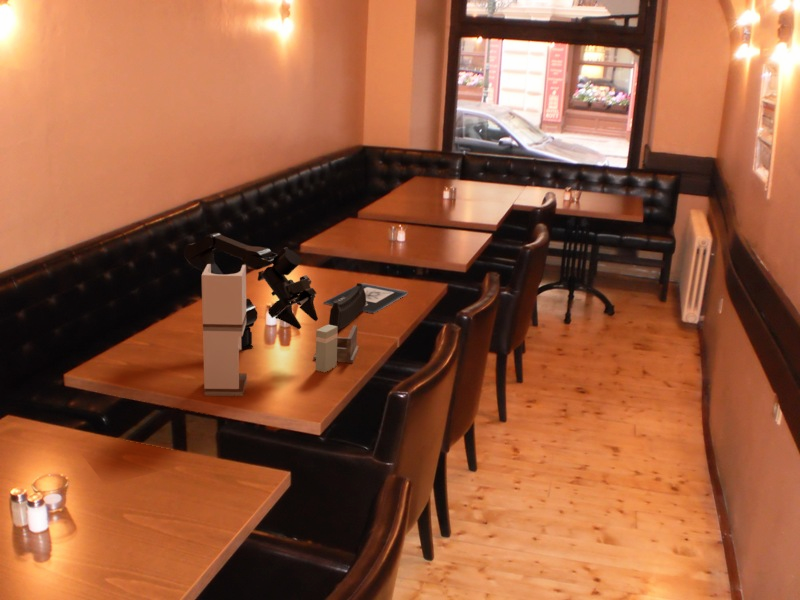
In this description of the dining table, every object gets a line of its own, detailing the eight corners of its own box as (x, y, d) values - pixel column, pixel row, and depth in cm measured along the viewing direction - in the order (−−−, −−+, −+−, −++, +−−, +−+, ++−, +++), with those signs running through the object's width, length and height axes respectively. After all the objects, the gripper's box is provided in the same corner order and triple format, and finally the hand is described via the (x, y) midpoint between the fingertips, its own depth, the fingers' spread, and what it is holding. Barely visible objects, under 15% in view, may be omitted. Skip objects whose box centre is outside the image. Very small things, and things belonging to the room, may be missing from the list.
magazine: (334, 311, 286) (363, 266, 310) (325, 310, 287) (355, 265, 311) (338, 352, 296) (366, 305, 319) (330, 351, 297) (358, 304, 320)
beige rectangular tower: (242, 395, 239) (241, 276, 229) (204, 395, 238) (201, 275, 228) (246, 380, 250) (245, 264, 240) (210, 379, 249) (207, 263, 239)
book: (315, 370, 260) (316, 330, 256) (327, 363, 265) (327, 324, 261) (325, 372, 258) (326, 332, 254) (336, 366, 264) (337, 326, 260)
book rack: (313, 359, 268) (313, 336, 265) (321, 345, 280) (321, 322, 278) (352, 363, 267) (353, 339, 264) (358, 348, 279) (359, 325, 277)
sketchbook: (323, 305, 324) (323, 300, 323) (361, 286, 350) (361, 281, 349) (373, 315, 315) (373, 309, 314) (408, 295, 341) (408, 290, 340)
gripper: (276, 275, 250) (307, 318, 249) (311, 262, 266) (341, 302, 265) (254, 296, 256) (285, 338, 254) (290, 282, 272) (319, 321, 270)
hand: (308, 324), depth 261 cm, fingers open, 9 cm apart
